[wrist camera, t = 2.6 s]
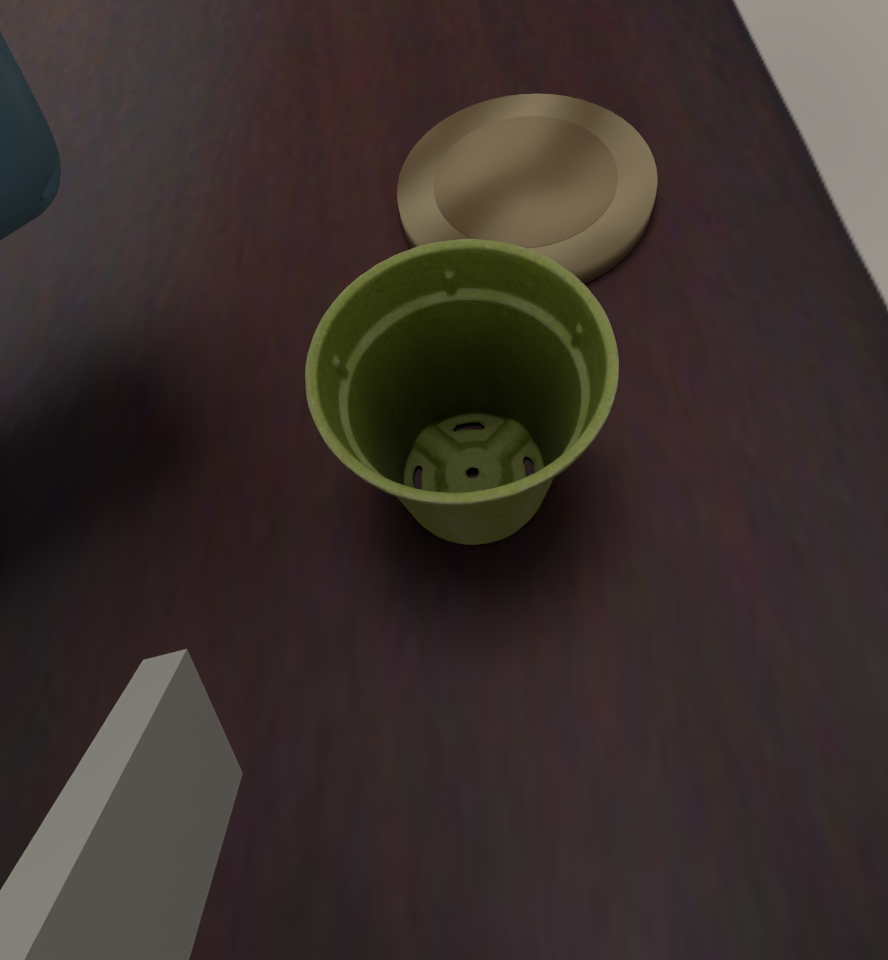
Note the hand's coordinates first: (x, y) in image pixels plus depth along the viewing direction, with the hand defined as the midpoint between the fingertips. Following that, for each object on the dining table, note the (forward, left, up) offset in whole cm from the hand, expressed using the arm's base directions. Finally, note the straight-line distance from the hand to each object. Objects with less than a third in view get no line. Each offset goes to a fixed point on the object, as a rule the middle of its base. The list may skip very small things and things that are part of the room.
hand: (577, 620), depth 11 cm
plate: (-13, +21, -13) cm, 28 cm away
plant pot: (-7, +6, -13) cm, 16 cm away
